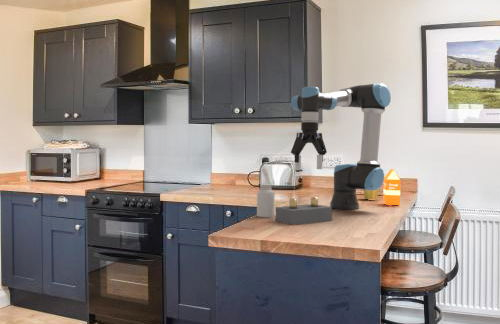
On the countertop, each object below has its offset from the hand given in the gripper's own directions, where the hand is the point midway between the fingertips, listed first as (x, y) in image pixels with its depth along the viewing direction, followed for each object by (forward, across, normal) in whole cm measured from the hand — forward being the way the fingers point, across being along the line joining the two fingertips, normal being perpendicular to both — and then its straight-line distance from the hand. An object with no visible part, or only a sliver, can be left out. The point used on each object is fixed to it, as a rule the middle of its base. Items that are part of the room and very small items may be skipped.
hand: (308, 169), depth 217 cm
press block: (+22, +4, +2) cm, 23 cm away
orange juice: (+23, -75, -9) cm, 79 cm away
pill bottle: (+23, +11, -17) cm, 30 cm away
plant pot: (+23, -83, -30) cm, 91 cm away
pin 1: (+18, +10, +1) cm, 21 cm away
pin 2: (+18, -2, +2) cm, 18 cm away
